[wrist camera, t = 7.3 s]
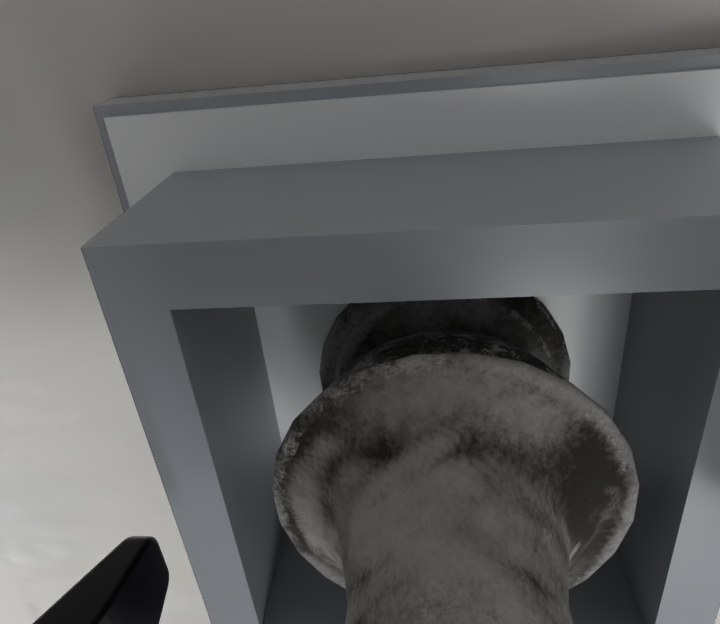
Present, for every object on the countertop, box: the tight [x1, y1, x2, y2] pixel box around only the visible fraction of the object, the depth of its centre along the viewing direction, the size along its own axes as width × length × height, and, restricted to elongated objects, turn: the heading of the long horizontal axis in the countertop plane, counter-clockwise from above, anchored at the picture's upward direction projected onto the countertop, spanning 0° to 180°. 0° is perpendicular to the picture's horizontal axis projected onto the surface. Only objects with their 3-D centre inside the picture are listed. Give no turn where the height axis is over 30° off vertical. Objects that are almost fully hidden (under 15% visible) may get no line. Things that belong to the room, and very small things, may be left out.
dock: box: [81, 47, 720, 624], centre depth 12 cm, size 12×12×4 cm
